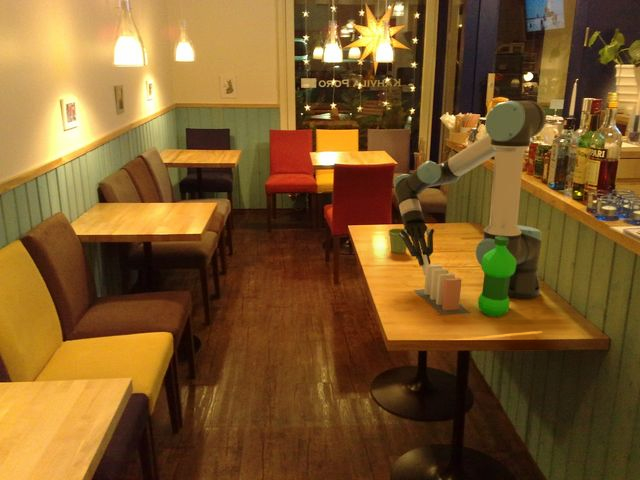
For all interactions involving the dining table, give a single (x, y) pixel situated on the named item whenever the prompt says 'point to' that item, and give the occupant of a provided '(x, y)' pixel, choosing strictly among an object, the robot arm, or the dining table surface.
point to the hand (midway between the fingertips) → (427, 273)
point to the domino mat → (439, 307)
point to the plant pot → (397, 241)
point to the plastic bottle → (496, 278)
